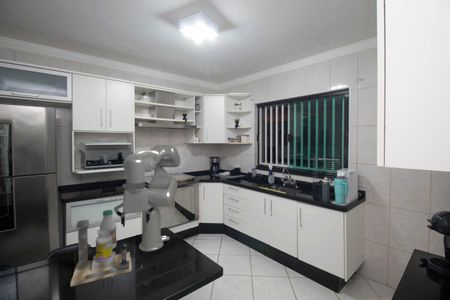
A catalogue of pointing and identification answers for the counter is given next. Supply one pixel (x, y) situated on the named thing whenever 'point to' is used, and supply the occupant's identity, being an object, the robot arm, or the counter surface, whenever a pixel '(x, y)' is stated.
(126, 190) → the robot arm
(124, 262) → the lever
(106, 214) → the milk bottle
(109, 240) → the supplement bottle
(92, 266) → the press
